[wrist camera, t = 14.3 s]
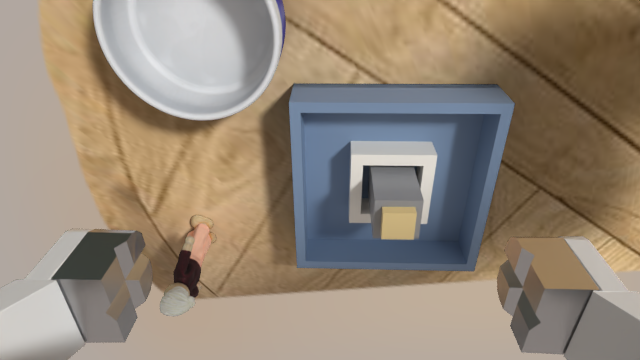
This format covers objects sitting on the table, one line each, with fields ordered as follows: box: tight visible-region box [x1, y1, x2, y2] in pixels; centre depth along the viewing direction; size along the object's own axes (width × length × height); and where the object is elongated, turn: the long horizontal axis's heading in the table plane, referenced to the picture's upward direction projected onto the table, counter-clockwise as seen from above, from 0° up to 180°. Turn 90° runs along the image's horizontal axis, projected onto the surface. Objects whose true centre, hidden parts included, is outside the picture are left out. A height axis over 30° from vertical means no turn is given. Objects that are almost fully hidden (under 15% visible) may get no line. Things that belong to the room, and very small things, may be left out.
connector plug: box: [368, 165, 424, 240], centre depth 43 cm, size 4×4×9 cm
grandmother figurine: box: [160, 215, 216, 316], centre depth 48 cm, size 8×4×13 cm, turn 10°
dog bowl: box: [93, 0, 286, 121], centre depth 38 cm, size 15×15×6 cm
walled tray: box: [289, 84, 515, 271], centre depth 46 cm, size 20×20×5 cm
